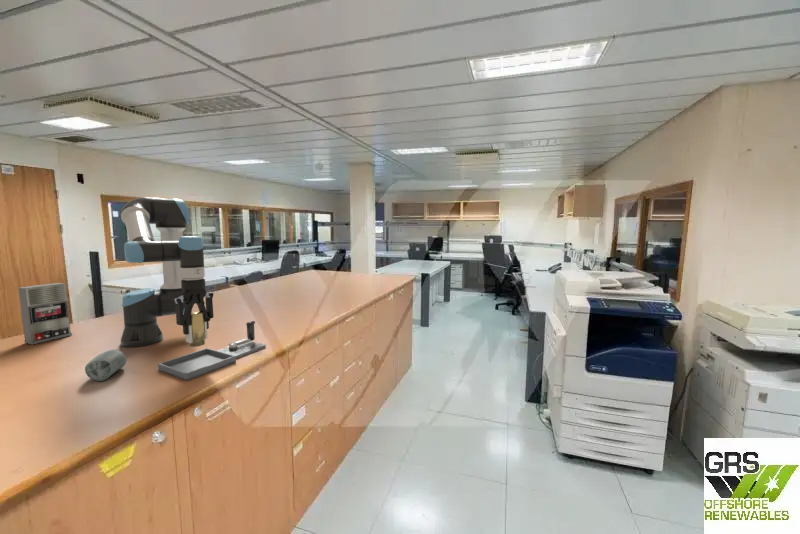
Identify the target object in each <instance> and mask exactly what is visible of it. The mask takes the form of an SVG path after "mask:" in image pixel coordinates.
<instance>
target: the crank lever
mask: <svg viewBox="0 0 800 534" xmlns="http://www.w3.org/2000/svg"><path fill="white" fill-rule="evenodd" d="M255 324H256V321H255V320H252V321H249V322H246V323H245V325H246V336H247V337H246V338H244V339H240V340H238V341H234V342H230V343H228V347H229V349H230V350H233V349H237V346H238V345H241V344H244V343H247V342H250V341H252V342H254V341H255V338H256V336H255Z"/></svg>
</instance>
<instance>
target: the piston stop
mask: <svg viewBox="0 0 800 534" xmlns="http://www.w3.org/2000/svg"><path fill="white" fill-rule="evenodd" d="M189 325H192V341H193V343H188V344H189V347H191V348H195V347H201V346H204V345H205V344H206V339H205V334H204V317H203V312H200V311H192V312H191V317H190V323H189Z"/></svg>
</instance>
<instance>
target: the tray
mask: <svg viewBox="0 0 800 534" xmlns="http://www.w3.org/2000/svg"><path fill="white" fill-rule="evenodd" d="M236 362H237V359H236V356H234V355H231V354H227V353H224V352H220V351H217V350H216V349H213V348H209V347H207V348H206V347H205V348H202V349H200V350H196V351H193V352H191V353H188V354H187V353H186V354H184V355H181V356H179V357H175V358H172V359H168V360H165V361H163V362H159V363H157V366H158V371H159V372H162V373H164V374H167V375H170V376H173V377H175V378H178V379H181V380H183V381H186V382H189V381H191V380H193V379H197V378H199V377H201V375H202V376H204V375H206V373H207V374H209V373H212V372H214V371H216V370H219V369H222V368H224V367H227V366H229V365H232V364H234V363H236ZM203 374H204V375H203Z"/></svg>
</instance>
